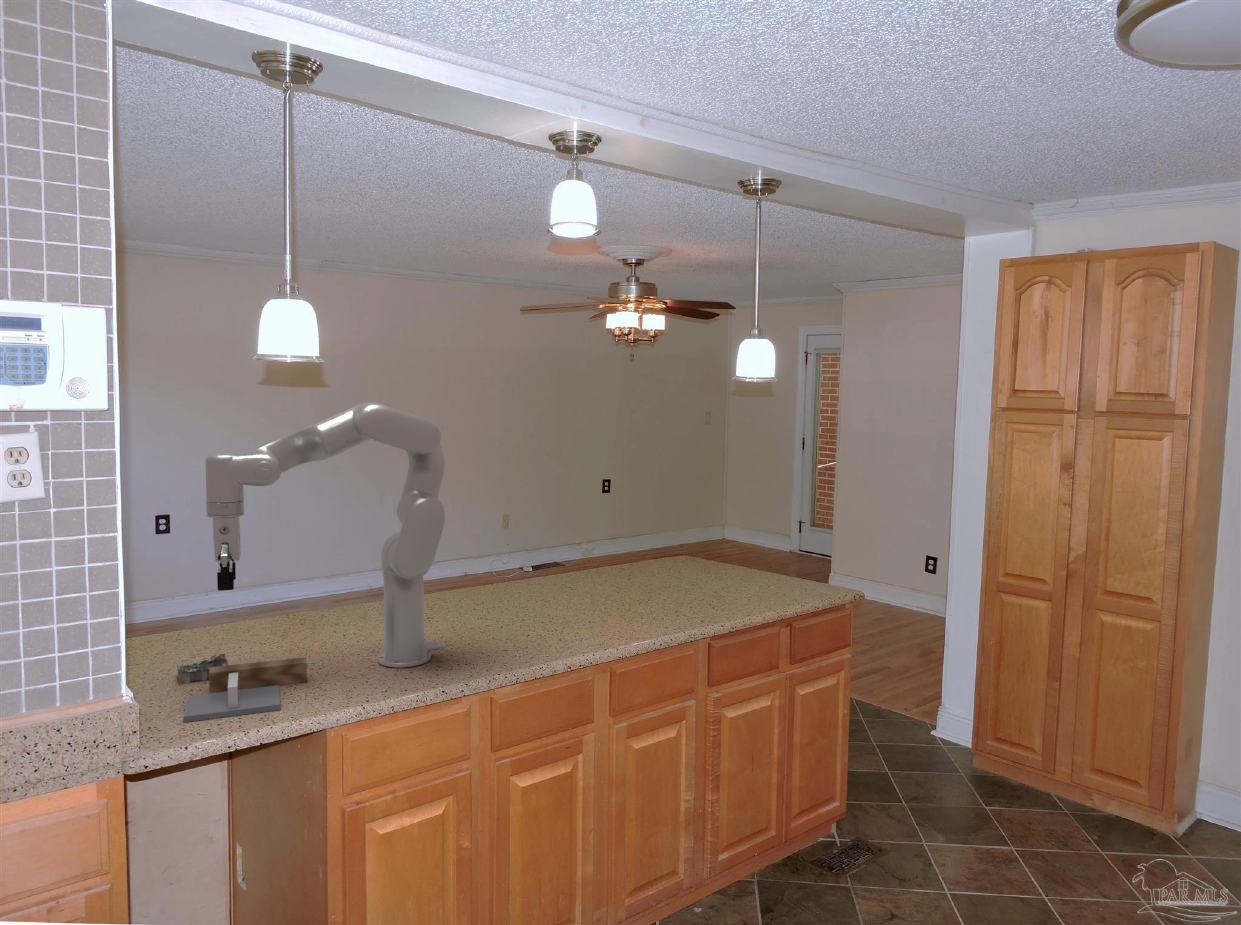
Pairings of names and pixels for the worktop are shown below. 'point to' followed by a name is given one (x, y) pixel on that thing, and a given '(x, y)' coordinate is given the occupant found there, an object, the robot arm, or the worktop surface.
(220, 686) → the beam
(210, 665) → the egg carton
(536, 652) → the worktop surface
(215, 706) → the fulcrum board
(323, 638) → the worktop surface
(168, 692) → the worktop surface
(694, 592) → the worktop surface
